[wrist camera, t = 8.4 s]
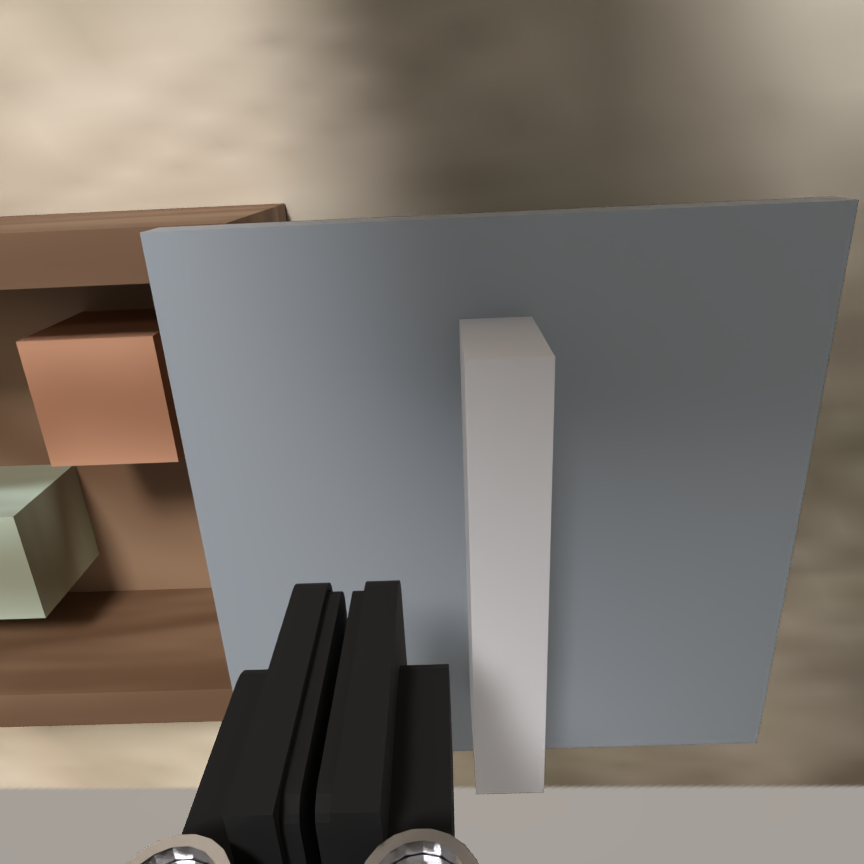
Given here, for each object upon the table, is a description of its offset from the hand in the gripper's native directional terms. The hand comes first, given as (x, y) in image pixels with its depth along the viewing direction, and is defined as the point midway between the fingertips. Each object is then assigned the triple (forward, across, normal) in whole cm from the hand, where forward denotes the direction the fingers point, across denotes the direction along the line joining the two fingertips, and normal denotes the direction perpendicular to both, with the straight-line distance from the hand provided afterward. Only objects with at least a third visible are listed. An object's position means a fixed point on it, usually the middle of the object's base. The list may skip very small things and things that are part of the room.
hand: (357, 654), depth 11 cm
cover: (+6, -3, +1) cm, 7 cm away
